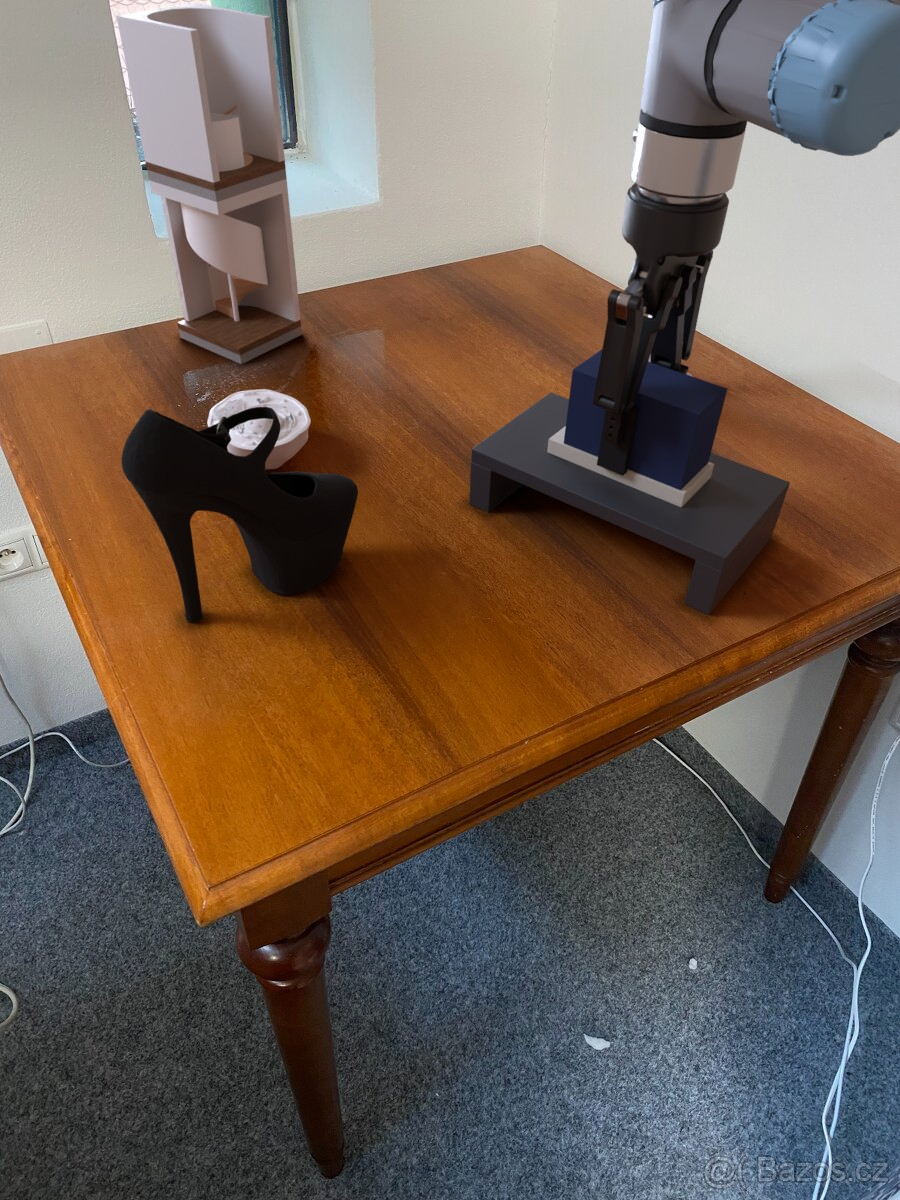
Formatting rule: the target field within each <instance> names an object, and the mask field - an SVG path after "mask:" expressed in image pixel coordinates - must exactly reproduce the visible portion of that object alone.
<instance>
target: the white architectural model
mask: <svg viewBox="0 0 900 1200" xmlns="http://www.w3.org/2000/svg"><path fill="white" fill-rule="evenodd" d="M116 21H117V25H118V32H119V36H120V41H121V46H122V51H123V56H124V61H125V66H126V72H127V77H128V81H129V87H130V91H131V97H132V101H133V106H134V111H135V116H136V122H137V127H138V132H139V136H140V142H141V146H142V147H141V148H142V151H143V158H144V162H145V167H146V172H147V178H148V182H149V187H150V192H151V194H153V195H157V196H159V197H160V200H161V205H162V210H163V215H164V220H165V225H166V232H167V237H168V241H169V246H170V251H171V257H172V263H173V267H174V268H173V269H174V272H175V273H174V274H175V278H176V283H177V289H178V294H179V298H180V304H181V308H182V314H183V319H181V320H179V321H177V328H178V333H179V338H180V339H183V340H185V341H187V342H189V343H191V344H194V345H196V346H198V347H201V348H204V349H205V350H208V351H210V352H213V353H215V354H216V355H219V356H222V357H224V358H226V359H228V360H230V361H233V362H235V363H238V364H240V365H243V364H245V363H247V362H249V361H251V360H253V359H255V358H257V357H259V356H261V355H263V354H265V353H267V352H269V351H271V350H274V349H276V348H277V347H279V346H282V345H284V344H285V343H288V342H290V341H292V340H294V339H296V338H298V337H300V336H302V335H303V331H302V329H303V328H302V320H301V319H302V318H301V310H300V301H299V290H298V289H299V288H298V280H297V279H298V278H297V270H296V260H295V259H296V258H295V251H294V241H293V240H294V239H293V229H292V219H291V210H290V209H291V208H290V199H289V188H288V178H287V168H286V167H287V166H286V159H285V148H284V138H283V129H282V118H281V117H282V116H281V108H280V100H279V99H280V97H279V90H278V89H279V88H278V86H279V85H278V78H277V77H278V76H277V68H276V58H275V56H276V55H275V46H274V37H273V29H272V28H273V27H272V18H271V16H270V15H269V16H268V15H263V14H258V13H252V12H247V11H243V10H241V11H240V10H237V9H231V8H230V9H229V8H224V7H220V6H213V5H209V4H203V3H190V4H184V5H178V6H177V5H176V6H172V7H165V8H158V9H152V10H145V11H139V12H131V13H125V14H119V15H116Z"/></svg>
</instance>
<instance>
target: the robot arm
mask: <svg viewBox="0 0 900 1200" xmlns="http://www.w3.org/2000/svg"><path fill="white" fill-rule="evenodd" d="M652 9H653V12H652V20H651V27H650V36H649V42H648V50H647V57H646V65H645V71H644V80H643V86H642V92H641V93H642V94H641V101H640V109H639V110H640V111H639V117H638V125H637V128H635V130H634V131H633V133H632V139H631V140H632V141H633V142H634V150H633V156H632V157H633V158H632V163H631V164H632V165H631V171H630V179H631V180H632V182H633V184H632V185H631V186H630V187H629V188H628V189H627V192H626V200H625V205H624V211H623V212H624V213H623V217H622V218H623V219H622V226H621V235H622V237H623V239H624V241H625V242H626V243H627V244H629V245H630V247H632V249H633V250H634V252H635V258H634V261H633V264H632V268H631V269H630V273H629V277H628V280H627V287H626V288H625V289H624V290H619V289H616V288H613V289H611V290H610V292H609V294H608V297H607V322H606V327H605V333H604V337H603V343H602V348H601V349H602V354H601V360H600V365H599V371H598V376H597V382H596V388H595V393H594V399H593V405H594V406H597V407H600V408H602V409H605V416H604V422H603V429H602V435H601V441H600V447H599V454H598V460H597V465H598V466H600V467H603V468H605V469H608V470H610V471H612V472H615V473H617V474H620V475H622V476H623V475H624V474H626V473H627V470H628V465H629V459H630V454H631V449H632V443H633V438H634V433H635V427H636V422H637V417H638V411H639V408H638V407H636V406H635V402H636V399H637V396H638V393H639V389H640V386H641V383H642V380H643V376H644V373H645V370H646V367H647V364H648V360H649V357H650V354H651V360H650V363H653V364H656V365H659V366H662V367H665V368H668V369H671V370H674V371H677V372H680V373H683V374H687V372H689V368H690V367H689V366H688V365H685V364H683V363H682V361H685V362H686V361H688V360H689V359H690V357H691V354H692V349H693V344H694V339H695V334H696V329H697V324H698V319H699V314H700V310H701V309H700V308H701V303H702V299H703V294H704V289H705V283H706V279H707V275H708V272H709V269H710V266H711V264H712V263H711V262H712V260H713V257H714V250H715V249H716V248H717V247H718V246H719V244H720V243H721V239H722V236H723V235H722V234H723V231H724V226H725V222H726V217H727V213H728V208H729V204H730V199H729V197H728V195H727V193H728V192H729V191H731V190H732V189H733V187H734V186H735V181H736V176H737V172H738V168H739V162H740V157H741V153H742V149H743V144H744V139H745V134H746V128H747V124H748V123H751V124H753V125H755V126H758V127H760V128H763V129H764V130H767V131H769V132H771V133H774V134H776V135H778V136H781V137H783V138H786V139H789V141H790V142H791V143H793V144H795V145H800V146H801V147H802V148H804V149H807V150H810V151H815V152H816V151H823V152H827V153H830V154H834V155H837V156H841V157H842V156H844V157H854V156H860V155H864V154H867V153H869V152H871V151H873V150H874V149H877V147H879V144H881V143H882V142H883V141H884V140H886V139H888V138H892V137H893V136H894V135H896V134H897V133H898V132H899V131H900V0H653V3H652ZM646 315H647V316H646ZM648 315H651V316H652V318H650V317H648Z"/></svg>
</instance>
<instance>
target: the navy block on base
mask: <svg viewBox="0 0 900 1200" xmlns="http://www.w3.org/2000/svg"><path fill="white" fill-rule="evenodd" d="M601 354H602V348H601V349H599V350H598V351H597V352H595V353H594V354H592V355H591V356H589V358H587V359H586V360H584V361H583V362H581V363H580V364H579V365H577V366H576V367H574V368H573V369H572V372H571V379H570V380H571V381H570V388H569V396H568V399H569V404H568V412H567V420H566V426H565V427H564V428H562V429H561V430H560V431H559V432H557V433H556V434H555V435H553V436H552V437H551V438H549V442H548V451H547V452H548V453H550V454H553V455H555V456H558V457H560V458H562V459H565V460H567V461H570V462H572V463H575V464H577V465H579V466H582V467H584V468H587V469H589V470H592V471H594V472H596V473H599V474H601V475H604V476H606V477H608V478H611V479H613V480H616V481H618V482H621V483H623V484H625V485H628V486H630V487H633V488H635V489H638V490H640V491H642V492H645V493H647V494H650V495H652V496H655V497H657V498H659V499H662V500H664V501H667V502H669V503H672V504H674V505H676V506H679V507H682V506H683V505H684V504H685V503H686V502H687V501H688V500H689V499H690V498H691V497H692V496H693V495H694V494H695V493H696V492H697V491H698V490H699V489H700V488H701V487H702V486H703V485H704V484H705V483H706V482H707V481H708V480H709V479H710V478H711V475H712V471H713V467H714V464H713V463H710V462H709V458H710V454H711V453H712V451H713V447H714V442H715V438H716V435H717V431H718V427H719V422H720V419H721V416H722V412H723V408H724V404H725V399H726V397H727V394H728V393H727V392H728V388H727V387H724V386H721V385H718V384H716V383H712V382H710V381H707V380H704V379H700V378H698V377H695V376H693V375H692V376H693V377H692V376H689V375H686V374H683V373H680V372H677V371H674V370H671V369H668V368H665V367H662V366H659V365H656V364H653V363H650V362H648V364H647V367H646V370H645V373H644V376H643V380H642V383H641V386H640V389H639V393H638V396H637V399H636V402H635V406H636V407H638V408H639V411H638V417H637V422H636V427H635V433H634V438H633V443H632V449H631V454H630V459H629V465H628V470H627V473H626V474H624V475H623V476H622V475H620V474H617V473H615V472H612V471H610V470H608V469H605V468H603V467H600V466H598V465H597V460H598V454H599V447H600V441H601V435H602V429H603V422H604V416H605V409H602V408H600V407H597V406H594V405H593V399H594V393H595V388H596V382H597V376H598V371H599V365H600V360H601Z"/></svg>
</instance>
